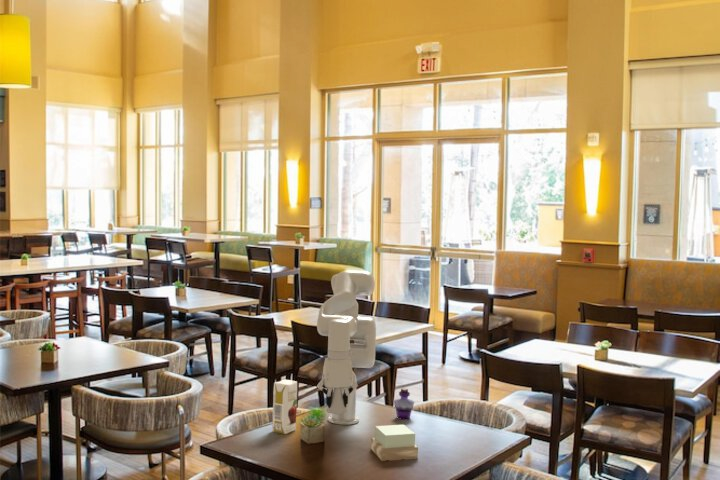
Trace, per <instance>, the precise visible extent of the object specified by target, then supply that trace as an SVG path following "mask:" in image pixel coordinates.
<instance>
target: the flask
mask: <svg viewBox="0 0 720 480" xmlns="http://www.w3.org/2000/svg"><path fill="white" fill-rule="evenodd" d="M331 397H332V403H331V407H330V408H329V407H328V406H327V408H326V412H327V414H332V413H333V414H344V413H345V412H347V409H346V407H345V406H344V400H343V396H342V391H341V388H334V390H333V389H332V393H331Z"/></svg>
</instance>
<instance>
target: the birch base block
mask: <svg viewBox="0 0 720 480" xmlns="http://www.w3.org/2000/svg"><path fill="white" fill-rule="evenodd" d="M370 439H371V444H370V446H371V448H370V449H371V450H372V452H373V453H374V454H375V455H376V456H377V458H379V459H380V461H381V462H384V461H385V462H387V461H386V460H389V461H402V460H401V459H405V460H418V457H419V447H418V446H417V445H416V444H415V446H413V447H398V448H384V447H383V446H382V445H381V444H380V443H379V442H378V441H377V440H376V439H375V437H371V438H370ZM416 458H417V459H416Z"/></svg>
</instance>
